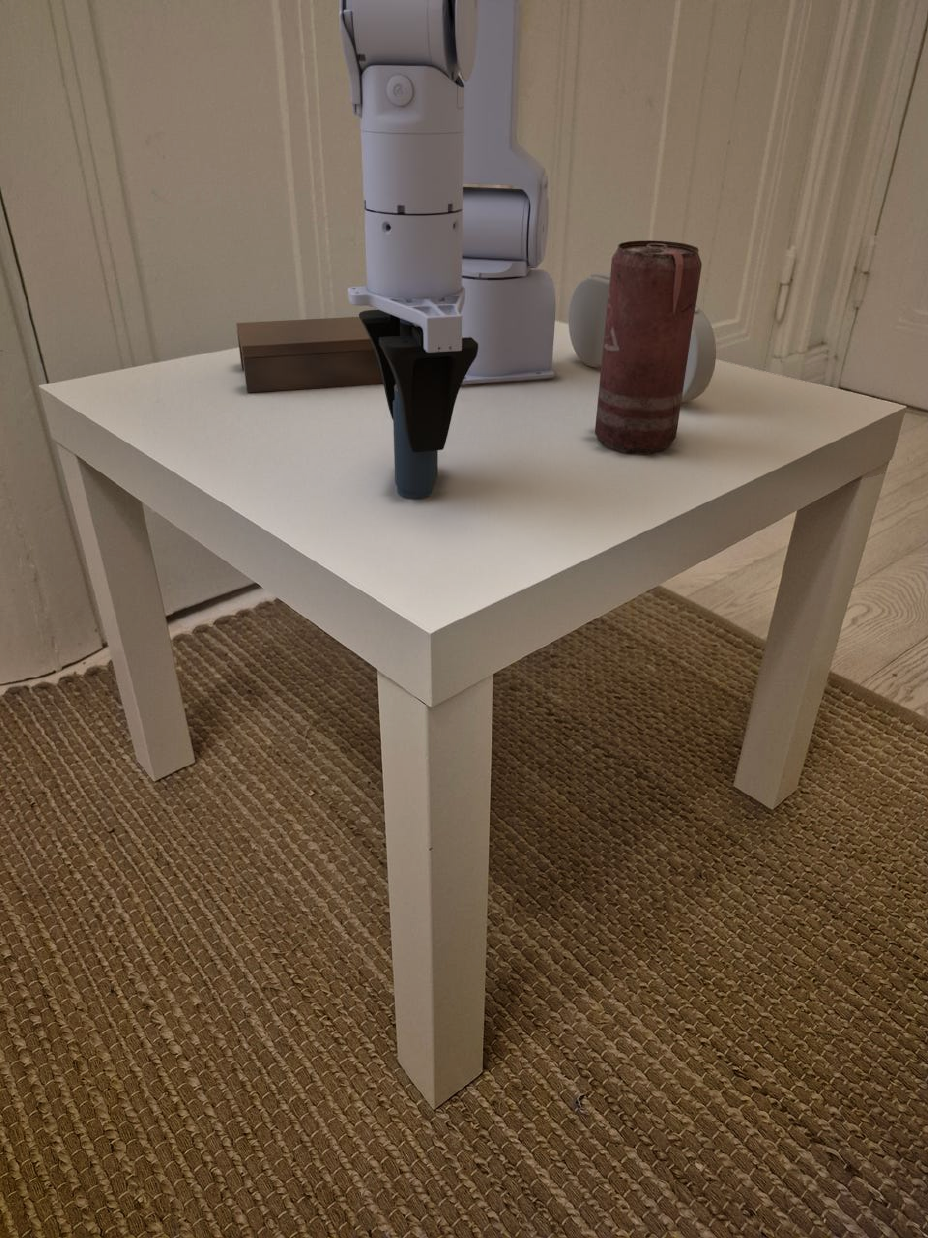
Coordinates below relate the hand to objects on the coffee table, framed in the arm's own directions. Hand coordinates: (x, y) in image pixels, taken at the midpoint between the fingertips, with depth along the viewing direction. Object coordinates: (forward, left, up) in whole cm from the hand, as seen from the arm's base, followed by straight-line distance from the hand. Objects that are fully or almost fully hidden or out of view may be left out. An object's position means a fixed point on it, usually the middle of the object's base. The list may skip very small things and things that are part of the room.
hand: (416, 433), depth 59 cm
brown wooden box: (+4, -26, -4) cm, 27 cm away
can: (-18, -4, -4) cm, 19 cm away
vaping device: (0, 0, -4) cm, 4 cm away
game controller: (-24, -18, -4) cm, 30 cm away
